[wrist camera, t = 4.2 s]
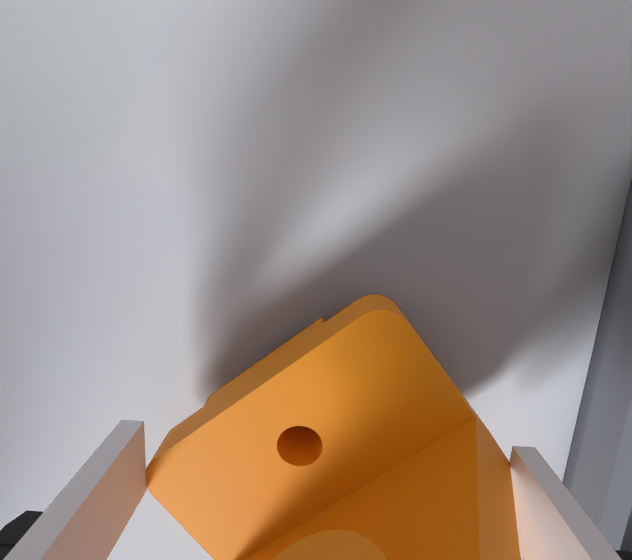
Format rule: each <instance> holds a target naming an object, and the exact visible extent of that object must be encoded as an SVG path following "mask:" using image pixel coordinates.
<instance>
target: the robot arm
mask: <svg viewBox="0 0 632 560" xmlns="http://www.w3.org/2000/svg"><path fill="white" fill-rule="evenodd" d="M509 464H510V467H511V476H512V485H513V494H514V503H515V512H516V521H517V530H518V539H519V548H520V555H521V557H522V559H523V560H632V553H631V552H630V551H620V550H614V549H613V548H612V546H611V545H610V544H609V542H608V541H607V540H606V539H605V537H604V536H603V535H602V533H601V532H600V531H599V529H598V528H597V527H596V526H595V524H594V523H593V522H592V520H591V519H590V518H589V517H588V515H587V514H586V513H585V511H584V510H583V509H582V508H581V506H580V505H579V504H578V502H577V501H576V500H575V498H574V497H573V496H572V495H571V493H570V492H569V491H568V489H567V488H566V487H565V486H564V484H563V483H562V482H561V480H560V479H559V478H558V477H557V475H556V474H555V473H554V471H553V470H552V469H551V468H550V466H549V465H548V464H547V462H546V461H545V460H544V458H543V457H542V456H541V455H540V453H539V452H538V451H537V449H536V448H534V447H519V446H512V452H511V457H510V462H509ZM145 492H146V465H145V439H144V421H132V420H121V421H120V422H119V424H118V425H117V426H116V427H115V428H114V430H113V431H112V432H111V433H110V434H109V435H108V437H107V438H106V439H105V440H104V441H103V442H102V444H101V445H100V446H99V447H98V448H97V450H96V451H95V452H94V453H93V454H92V455H91V457H90V458H89V459H88V460H87V461H86V463H85V464H84V465H83V466H82V467H81V468H80V470H79V471H78V472H77V473H76V474H75V476H74V477H73V478H72V479H71V480H70V481H69V483H68V484H67V485H66V486H65V487H64V489H63V490H62V491H61V492H60V493H59V494H58V496H57V497H56V498H55V499H54V500H53V502H52V503H51V504H50V505H49V506H48V507H47V509H46V510H45V511H44V512H39V511H26V512H24V513H23V514H21V515H20V516H18V517H17V518H16V519H14V520H13V521H11V522H10V523H8V524H7V525H5V526H4V527H3V529H2V530H1V531H0V560H106V559H107V557H108V556H109V554H110V552H111V551H112V549H113V547H114V545H115V544H116V542H117V540H118V538H119V537H120V535H121V533H122V531H123V530H124V528H125V526H126V525H127V523H128V521H129V519H130V518H131V516H132V514H133V512H134V511H135V509H136V507H137V505H138V504H139V502H140V500H141V499H142V497H143V495H144V493H145Z"/></svg>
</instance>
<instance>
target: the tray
mask: <svg viewBox="0 0 632 560" xmlns="http://www.w3.org/2000/svg"><path fill="white" fill-rule="evenodd" d="M563 484H564V486H565V487H566V488H567V489H568V491H569V492H570V493H571V495H572V496H573V497H574V498H575V500H576V501H577V502H578V504H579V505H580V506H581V508H582V509H583V510H584V511H585V513H586V514H587V515H588V517H589V518H590V519H591V520H592V522H593V523H594V524H595V526H596V527H597V528H598V529H599V531H600V532H601V533H602V535H603V536H604V537H605V539H606V540H607V541H608V542H609V544H610V545H611V546H612V548H613V549H614V550H620V551H630V552H631V553H632V182H631V186H630V191H629V195H628V199H627V204H626V208H625V213H624V217H623V221H622V226H621V230H620V234H619V239H618V243H617V247H616V252H615V256H614V261H613V265H612V269H611V274H610V278H609V282H608V287H607V291H606V295H605V300H604V304H603V309H602V313H601V317H600V322H599V326H598V330H597V335H596V339H595V343H594V348H593V352H592V357H591V361H590V365H589V370H588V374H587V378H586V383H585V387H584V391H583V396H582V400H581V405H580V409H579V413H578V418H577V422H576V426H575V431H574V435H573V439H572V444H571V448H570V453H569V457H568V461H567V466H566V470H565V474H564V479H563Z"/></svg>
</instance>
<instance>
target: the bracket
mask: <svg viewBox="0 0 632 560" xmlns="http://www.w3.org/2000/svg"><path fill="white" fill-rule="evenodd" d="M146 486H147V488H148V490H149V491H150V493H151V494H152V495H153V496H154V497H155V498H156V499H157V500H158V501H159V502H160V503H161V504H162V505H163V507H164V508H165V509H166V510H167V511H168V512H169V513H170V514H171V515H172V516H173V517H174V518H175V519H176V520H177V521H178V522H179V523H180V524H181V525H182V526H183V527H184V529H185V530H186V531H187V532H188V533H189V534H190V535H191V536H192V537H193V538H194V539H195V540H196V541H197V542H198V543H199V544H200V545H201V546H202V547H203V548H204V549H205V551H206V552H207V553H208V554H209V555H210V556H211V557H212V558H213V559H214V560H521V557H520V548H519V539H518V530H517V521H516V512H515V503H514V494H513V485H512V476H511V467H510V464H509V461H508V459H507V458H506V456H505V455H504V453H503V452H502V450H501V449H500V447H499V446H498V444H497V443H496V441H495V440H494V438H493V436H492V435H491V433H490V432H489V430H488V429H487V428H486V426H485V425H484V424H483V422H482V421H481V419H480V418H479V417H478V415H477V414H476V413H475V411H474V410H473V409H472V407H471V406H470V404H469V403H468V402H467V400H466V399H465V398H464V396H463V395H462V393H461V392H460V391H459V389H458V388H457V387H456V385H455V384H454V382H453V381H452V380H451V378H450V377H449V376H448V374H447V373H446V372H445V370H444V369H443V367H442V366H441V365H440V363H439V362H438V361H437V359H436V358H435V356H434V355H433V354H432V352H431V351H430V350H429V348H428V347H427V346H426V344H425V343H424V341H423V340H422V339H421V337H420V336H419V335H418V333H417V332H416V330H415V329H414V328H413V326H412V325H411V324H410V322H409V321H408V319H407V318H406V317H405V315H404V314H403V313H402V311H401V310H400V309H399V307H398V306H397V305H396V303H395V302H394V301H392V300H391V299H389V298H388V297H385V296H382V295H377V294H371V295H366V296H363V297H361V298H359V299H357V300H356V301H354V302H353V303H352V304H350V305H349V306H347V307H346V308H344V309H343V310H342V311H340V312H339V313H337V314H336V315H334V316H333V317H332V318H330V319H329V320H327V321H326V322H325V320H324V319H323V318H322V317H321V318H320V319H318V320H317V321H316V322H314V323H313V324H311V325H310V326H308V327H307V328H306V329H304V330H303V331H301V332H300V333H299V334H297V335H296V336H294V337H293V338H291V339H290V340H289V341H287V342H286V343H284V344H283V345H281V346H280V347H279V348H277V349H276V350H274V351H273V352H271V353H270V354H269V355H267V356H266V357H264V358H263V359H261V360H260V361H259V362H257V363H256V364H254V365H253V366H251V367H250V368H249V369H247V370H246V371H244V372H243V373H241V374H240V375H239V376H237V377H236V378H234V379H233V380H232V381H230V382H229V383H227V384H226V385H224V386H223V387H222V388H220V389H219V390H217V391H216V392H214V393H213V394H212V395H210V396H209V398H208V400H207V402H206V404H205V405H204V407H203V408H201V409H200V410H198V411H197V412H195V413H194V414H193V415H191V416H190V417H188V418H187V419H185V420H184V421H183V422H181V423H180V424H178V425H177V426H175V427H174V428H173V429H171V430H170V431H169V433H168V434H167V436H166V437H165V439H164V441H163V442H162V444H161V445H160V447H159V449H158V450H157V452H156V453H155V455H154V457H153V458H152V460H151V462H150V463H149V465H148V466H147V468H146Z"/></svg>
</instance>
